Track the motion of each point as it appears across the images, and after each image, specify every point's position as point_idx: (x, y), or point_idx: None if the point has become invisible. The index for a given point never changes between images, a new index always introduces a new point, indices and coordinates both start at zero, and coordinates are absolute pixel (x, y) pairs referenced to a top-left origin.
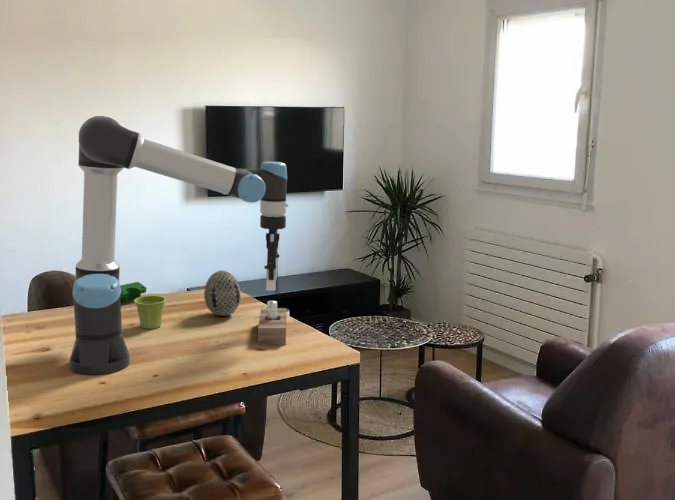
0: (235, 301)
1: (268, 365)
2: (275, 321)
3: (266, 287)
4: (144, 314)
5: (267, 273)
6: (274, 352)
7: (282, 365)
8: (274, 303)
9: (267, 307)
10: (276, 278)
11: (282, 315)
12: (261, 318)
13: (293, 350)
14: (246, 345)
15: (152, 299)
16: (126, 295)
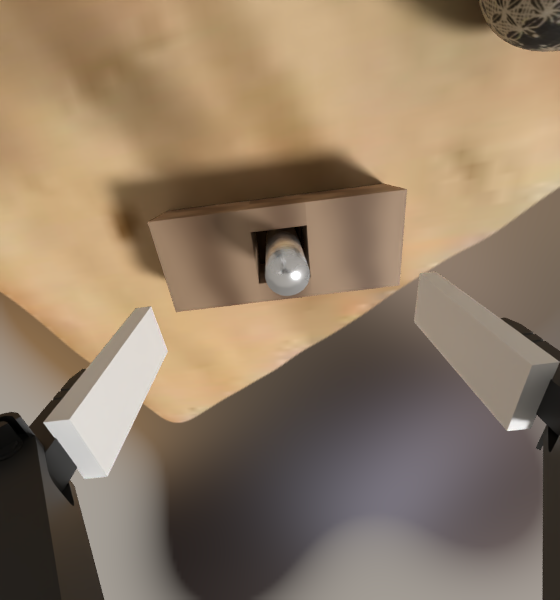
0: (513, 29)
1: (11, 268)
2: (240, 271)
3: (127, 319)
4: None
5: (76, 391)
6: (117, 269)
7: (30, 302)
8: (270, 286)
9: (278, 248)
10: (416, 324)
11: (313, 283)
12: (269, 214)
13: None
14: (148, 173)
15: None
16: None
